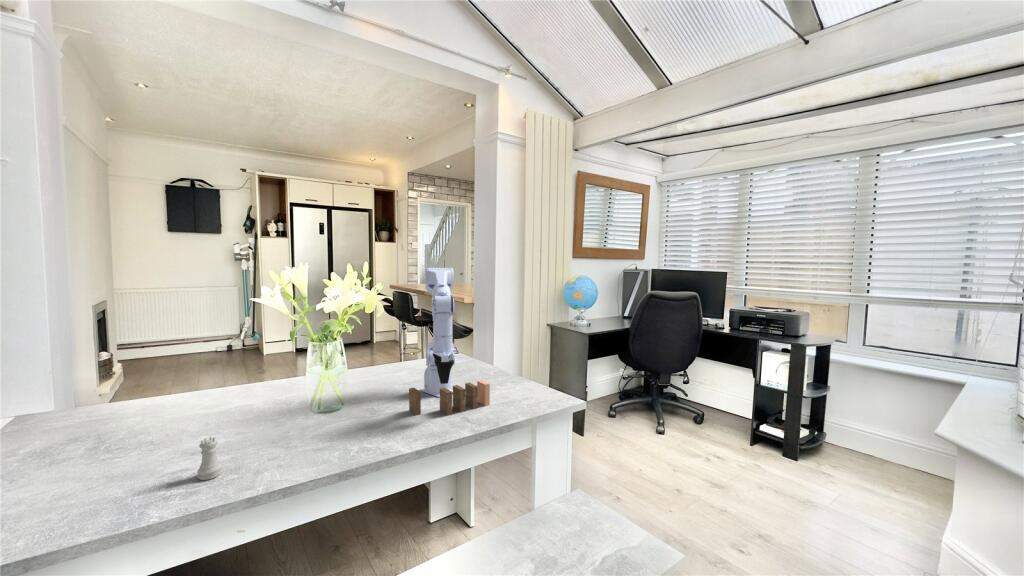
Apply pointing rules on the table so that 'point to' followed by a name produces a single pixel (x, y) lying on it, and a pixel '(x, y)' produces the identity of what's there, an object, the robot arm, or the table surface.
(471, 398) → the domino
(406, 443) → the table surface
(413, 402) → the domino
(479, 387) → the domino
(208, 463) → the rook chess piece
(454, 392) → the domino
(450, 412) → the domino
